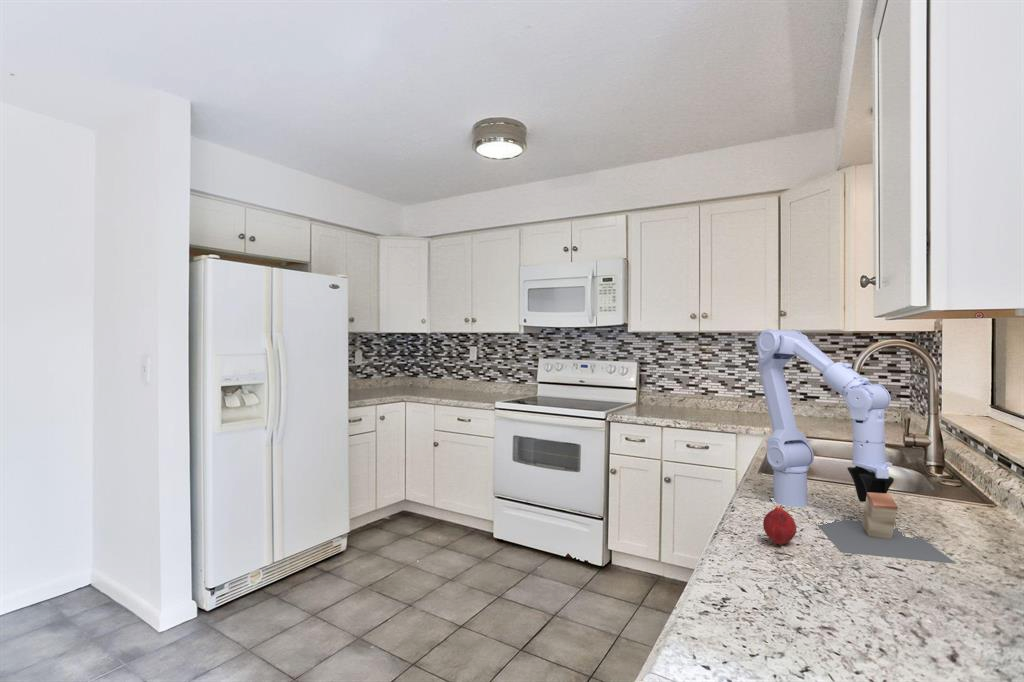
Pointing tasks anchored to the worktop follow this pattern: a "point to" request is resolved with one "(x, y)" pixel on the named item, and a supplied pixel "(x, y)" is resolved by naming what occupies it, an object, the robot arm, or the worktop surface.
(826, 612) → the worktop surface
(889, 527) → the block
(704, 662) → the worktop surface
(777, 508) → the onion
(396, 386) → the worktop surface
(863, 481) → the robot arm
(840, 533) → the mat
